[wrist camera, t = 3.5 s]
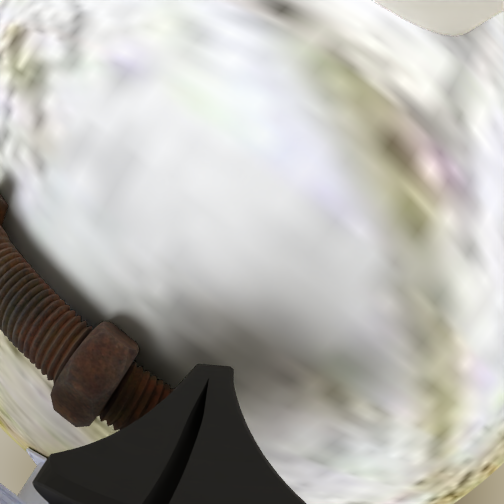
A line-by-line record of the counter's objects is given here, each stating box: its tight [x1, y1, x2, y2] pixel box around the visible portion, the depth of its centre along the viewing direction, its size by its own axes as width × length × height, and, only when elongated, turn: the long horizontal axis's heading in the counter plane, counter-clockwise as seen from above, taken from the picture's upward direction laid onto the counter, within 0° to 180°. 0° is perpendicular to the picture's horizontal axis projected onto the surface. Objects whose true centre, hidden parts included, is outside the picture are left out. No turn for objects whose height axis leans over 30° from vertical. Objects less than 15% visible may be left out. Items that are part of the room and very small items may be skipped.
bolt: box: [0, 194, 175, 430], centre depth 9 cm, size 6×5×15 cm
